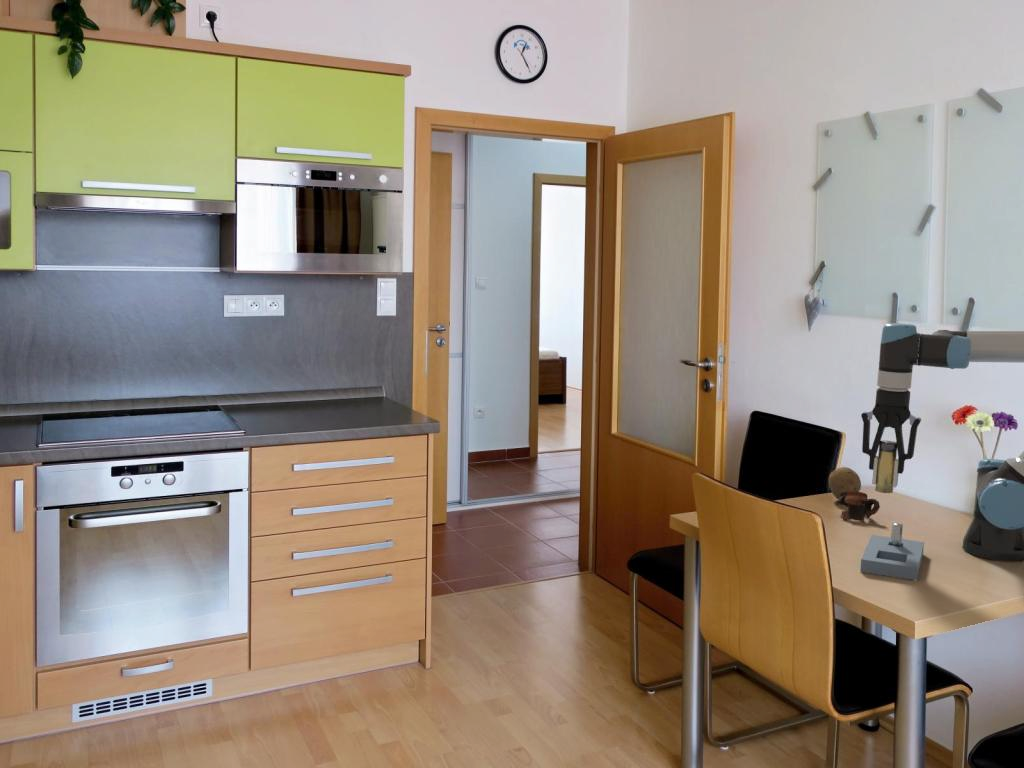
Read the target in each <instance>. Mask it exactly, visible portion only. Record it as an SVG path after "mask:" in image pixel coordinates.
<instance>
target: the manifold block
mask: <svg viewBox="0 0 1024 768" xmlns="http://www.w3.org/2000/svg"><path fill="white" fill-rule="evenodd" d="M890 543H891V536H883V535H876V534H871V535H870V538H869V540H868V543H867V545H866V547H865V550H864V552H863V554H862V556H861V560H860V568H859V569H860V571H862V572H861V573H864V572H867V573H866V574H870V573H871V574H872V575H876V574H878V575H877V576H883V575H886V576H885V577H889V576H892V577H891V578H895V577H899V578H898V579H902V578H906V579H905V580H908V579H912V580H911V581H914V580H917V581H918V577H919V574H920V570H921V566H922V565H921V564H922V561H923V560H922V559H923V557H924V547H925V541H919V540H911V539H906V538H902V540H901V547H898V546H892V545H890ZM922 556H923V557H922ZM919 569H920V570H919ZM918 573H919V574H918Z"/></svg>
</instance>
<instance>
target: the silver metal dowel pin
mask: <svg viewBox="0 0 1024 768" xmlns="http://www.w3.org/2000/svg"><path fill="white" fill-rule="evenodd" d="M903 526H904V524H903V523H900V522H892V523H891V532H890V537H891V543H890V545H892V546H898V547H901V540H902V539H903Z"/></svg>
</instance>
